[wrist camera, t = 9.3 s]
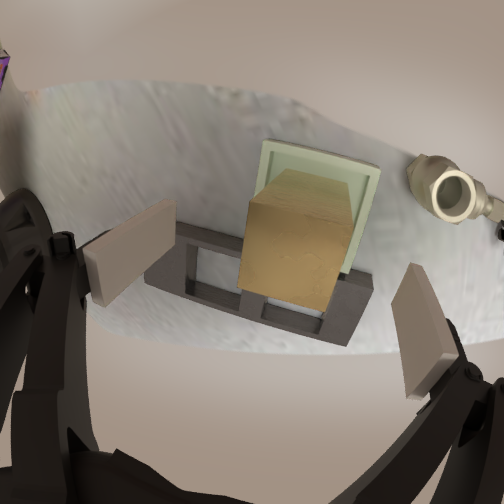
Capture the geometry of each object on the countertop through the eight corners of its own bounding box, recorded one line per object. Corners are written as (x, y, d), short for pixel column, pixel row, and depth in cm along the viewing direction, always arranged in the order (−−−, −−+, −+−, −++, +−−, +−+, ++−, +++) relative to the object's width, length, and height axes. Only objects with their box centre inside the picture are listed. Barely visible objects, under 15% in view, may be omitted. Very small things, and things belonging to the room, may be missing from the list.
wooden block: (275, 224, 24) (237, 287, 16) (286, 168, 22) (249, 201, 13) (332, 239, 23) (324, 312, 15) (347, 183, 21) (353, 228, 12)
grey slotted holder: (156, 272, 32) (144, 283, 29) (155, 215, 28) (141, 224, 26) (346, 330, 28) (346, 346, 25) (371, 274, 24) (373, 289, 22)
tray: (252, 236, 26) (246, 245, 24) (269, 138, 22) (263, 140, 20) (348, 262, 24) (348, 274, 23) (377, 165, 20) (381, 169, 18)
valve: (392, 205, 21) (496, 244, 19) (410, 235, 16) (527, 279, 13) (412, 129, 18) (518, 180, 16) (440, 133, 12) (558, 201, 10)
